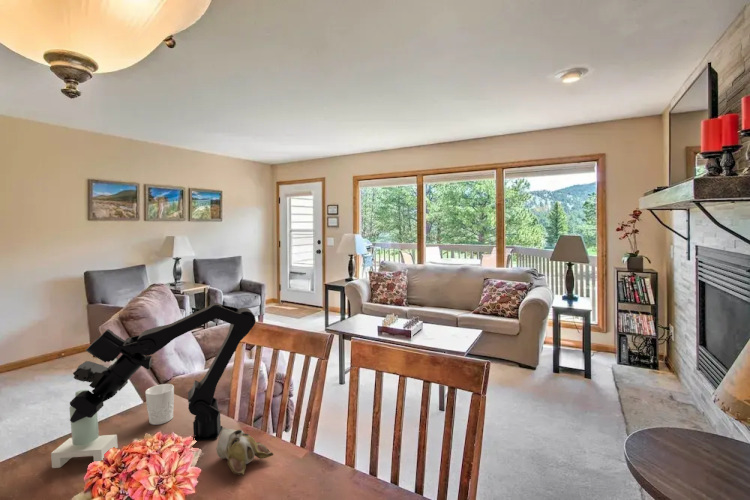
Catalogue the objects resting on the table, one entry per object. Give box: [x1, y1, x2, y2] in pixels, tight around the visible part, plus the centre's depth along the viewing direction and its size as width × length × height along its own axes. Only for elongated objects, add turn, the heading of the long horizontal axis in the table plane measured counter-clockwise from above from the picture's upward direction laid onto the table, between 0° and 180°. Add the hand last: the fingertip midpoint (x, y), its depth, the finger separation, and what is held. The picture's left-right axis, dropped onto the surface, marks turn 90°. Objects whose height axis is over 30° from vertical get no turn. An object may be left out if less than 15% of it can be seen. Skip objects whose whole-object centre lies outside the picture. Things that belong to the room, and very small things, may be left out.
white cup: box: [144, 383, 175, 426], centre depth 119 cm, size 8×8×10 cm
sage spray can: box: [69, 389, 100, 445], centre depth 99 cm, size 6×6×13 cm
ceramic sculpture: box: [215, 426, 275, 476], centre depth 97 cm, size 11×9×15 cm
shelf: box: [50, 434, 119, 469], centre depth 100 cm, size 12×7×4 cm, turn 96°
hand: (78, 415), depth 99 cm, fingers closed on sage spray can, 5 cm apart
